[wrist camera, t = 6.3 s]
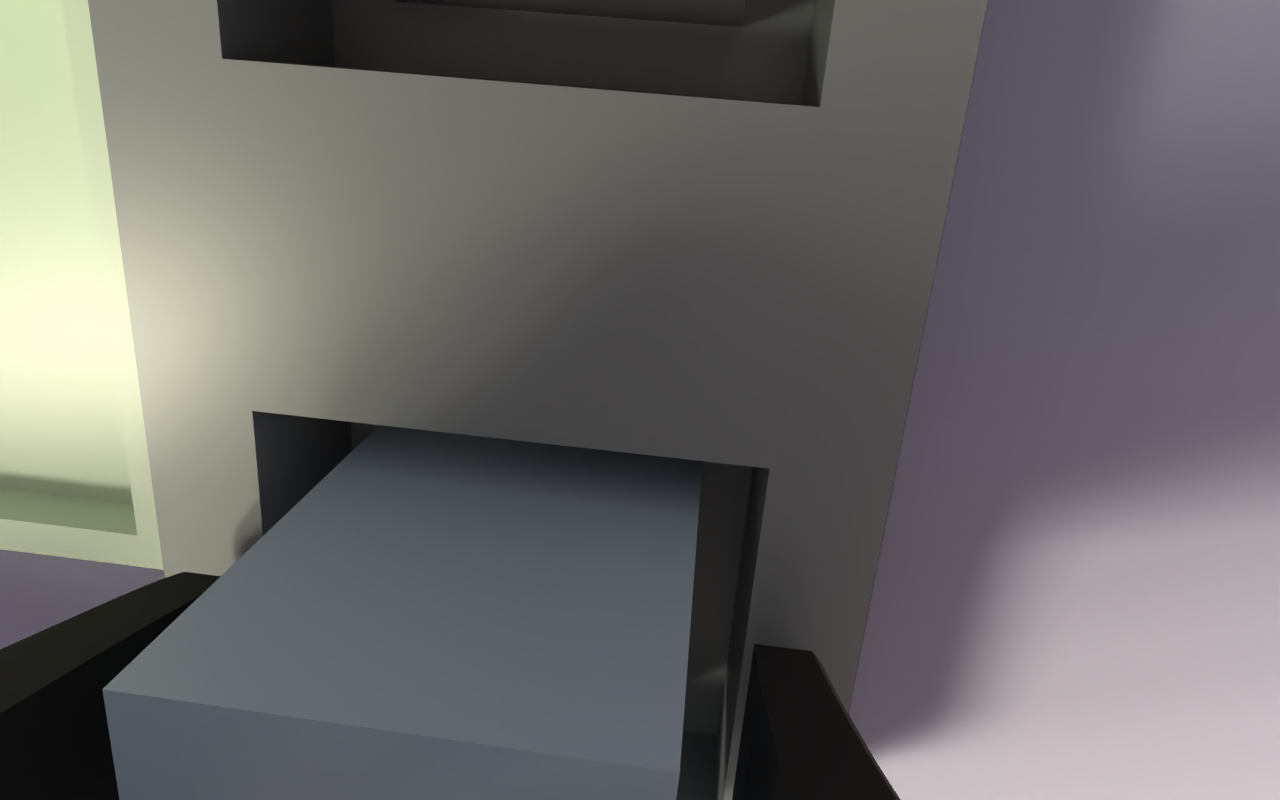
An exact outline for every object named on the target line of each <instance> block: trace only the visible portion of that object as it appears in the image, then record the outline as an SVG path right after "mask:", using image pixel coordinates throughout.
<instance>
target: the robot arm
mask: <svg viewBox="0 0 1280 800" xmlns="http://www.w3.org/2000/svg"><path fill="white" fill-rule="evenodd" d="M220 577H221V576H215V575H207V574H199V573H191V572H181V573H178V574H176V575H173V576H170V577H167V578H164V579H161V580H159V581H156V582H154V583H151V584H149V585H146V586H144V587H141V588H139V589H137V590H134V591H132V592H129V593H127V594H125V595H122V596H120V597H118V598H116V599H113V600H111V601H109V602H106V603H104V604H102V605H100V606H97V607H95V608H93V609H91V610H88V611H86V612H84V613H82V614H79V615H77V616H75V617H73V618H70V619H68V620H66V621H64V622H61V623H59V624H57V625H55V626H52V627H50V628H48V629H46V630H43V631H41V632H39V633H37V634H34V635H32V636H30V637H28V638H25V639H23V640H21V641H19V642H16V643H14V644H12V645H10V646H7V647H5V648H3V649H1V650H0V800H119V794H118V787H117V781H116V774H115V768H114V761H113V755H112V748H111V742H110V736H109V729H108V723H107V716H106V710H105V703H104V697H103V690H102V689H103V688H104V687H105V686H106V685H108V684H109V683H110V682H111V681H112V680H113V679H114V678H115V677H116V676H117V675H118V674H119V673H120V672H121V671H122V670H123V669H124V668H125V667H126V666H127V665H128V664H130V663H131V662H132V661H133V660H134V659H135V658H136V657H137V656H138V655H139V654H140V653H141V652H142V651H143V650H144V649H145V648H146V647H147V646H148V645H149V644H150V643H152V642H153V641H154V640H155V639H156V638H157V637H158V636H159V635H160V634H161V633H162V632H163V631H164V630H165V629H166V628H167V627H168V626H169V625H170V624H171V623H173V622H174V621H175V620H176V619H177V618H178V617H179V616H180V615H181V614H182V613H183V612H184V611H185V610H186V609H187V608H188V607H189V606H190V605H191V604H192V603H193V602H195V601H196V600H197V599H198V598H199V597H200V596H201V595H202V594H203V593H204V592H205V591H206V590H207V589H208V588H209V587H210V586H211V585H212V584H213V583H214V582H215V581H217V580H218V579H219V578H220ZM732 800H900V798H899V797H898V795H897V794H896V792H895V791H894V789H893V788H892V786H891V784H890V783H889V781H888V780H887V778H886V777H885V775H884V773H883V772H882V770H881V769H880V767H879V766H878V764H877V762H876V761H875V759H874V757H873V756H872V754H871V752H870V751H869V749H868V747H867V746H866V744H865V742H864V741H863V739H862V737H861V735H860V734H859V732H858V730H857V729H856V727H855V725H854V723H853V722H852V720H851V718H850V716H849V715H848V713H847V711H846V709H845V707H844V706H843V704H842V702H841V700H840V698H839V696H838V695H837V693H836V691H835V689H834V687H833V685H832V683H831V681H830V679H829V677H828V675H827V674H826V672H825V670H824V668H823V666H822V663H821V662H820V660H819V659H818V658H817V657H816V655H815V654H814V653H813V652H812V651H807V650H799V649H791V648H784V647H776V646H768V645H760V644H754V649H753V656H752V663H751V670H750V677H749V684H748V691H747V697H746V704H745V711H744V718H743V725H742V732H741V739H740V746H739V753H738V760H737V767H736V774H735V781H734V788H733V795H732Z"/></svg>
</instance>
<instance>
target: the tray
mask: <svg viewBox="0 0 1280 800" xmlns="http://www.w3.org/2000/svg"><path fill="white" fill-rule="evenodd" d="M0 549H2V550H10V551H18V552H26V553H34V554H42V555H50V556H58V557H66V558H73V559H81V560H89V561H97V562H105V563H113V564H121V565H129V566H137V567H145V568H152V569H160V570H164V569H163V561H162V554H161V546H160V539H159V531H158V524H157V516H156V509H155V501H154V494H153V486H152V479H151V471H150V464H149V456H148V449H147V441H146V433H145V426H144V418H143V411H142V403H141V396H140V388H139V381H138V373H137V366H136V358H135V351H134V343H133V336H132V328H131V321H130V313H129V306H128V298H127V291H126V283H125V275H124V268H123V260H122V253H121V245H120V238H119V230H118V223H117V215H116V208H115V200H114V193H113V185H112V178H111V170H110V163H109V155H108V148H107V140H106V132H105V125H104V117H103V110H102V102H101V95H100V87H99V80H98V72H97V65H96V57H95V50H94V42H93V35H92V27H91V20H90V12H89V5H88V0H0Z"/></svg>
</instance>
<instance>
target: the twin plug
mask: <svg viewBox="0 0 1280 800" xmlns="http://www.w3.org/2000/svg"><path fill="white" fill-rule="evenodd" d="M391 1H396V2H409V3H423V4H436V5H449V6H463V7H476V8H490V9H503V10H516V11H530V12H543V13H556V14H570V15H583V16H596V17H610V18H623V19H637V20H650V21H663V22H677V23H690V24H703V25H717V26H730V27H743V19H744V10H745V1H746V0H391Z"/></svg>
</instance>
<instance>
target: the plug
mask: <svg viewBox="0 0 1280 800" xmlns="http://www.w3.org/2000/svg"><path fill="white" fill-rule="evenodd" d="M701 474H702V461H696V460H687V459H679V458H670V457H661V456H652V455H643V454H634V453H625V452H616V451H607V450H598V449H589V448H580V447H571V446H562V445H553V444H544V443H535V442H526V441H517V440H508V439H499V438H490V437H482V436H473V435H464V434H455V433H446V432H437V431H428V430H419V429H410V428H401V427H392V426H383V425H379V426H378V427H377V428H376V429H375V430H374V431H373V432H372V433H371V434H370V435H369V436H367V437H366V438H365V439H364V440H363V441H362V442H361V443H360V444H359V445H358V446H357V447H356V448H355V449H354V450H353V451H352V452H351V453H350V454H349V455H348V456H347V457H345V458H344V459H343V460H342V461H341V462H340V463H339V464H338V465H337V466H336V467H335V468H334V469H333V470H332V471H331V472H330V473H329V474H328V475H327V476H326V477H325V478H323V479H322V480H321V481H320V482H319V483H318V484H317V485H316V486H315V487H314V488H313V489H312V490H311V491H310V492H309V493H308V494H307V495H306V496H305V497H304V498H302V499H301V500H300V501H299V502H298V503H297V504H296V505H295V506H294V507H293V508H292V509H291V510H290V511H289V512H288V513H287V514H286V515H285V516H284V517H283V518H282V519H280V520H279V521H278V522H277V523H276V524H275V525H274V526H273V527H272V528H271V529H270V530H269V531H268V532H267V533H266V534H265V535H264V536H263V537H262V538H261V539H260V540H258V541H257V542H256V543H255V544H254V545H253V546H252V547H251V548H250V549H249V550H248V551H247V552H246V553H245V554H244V555H243V556H242V557H241V558H240V559H239V560H237V561H236V562H235V563H234V564H233V565H232V566H231V567H230V568H229V569H228V570H227V571H226V572H225V573H224V574H223V575H222V576H221V577H220V578H219V579H218V580H217V581H215V582H214V583H213V584H212V585H211V586H210V587H209V588H208V589H207V590H206V591H205V592H204V593H203V594H202V595H201V596H200V597H199V598H198V599H197V600H196V601H195V602H193V603H192V604H191V605H190V606H189V607H188V608H187V609H186V610H185V611H184V612H183V613H182V614H181V615H180V616H179V617H178V618H177V619H176V620H175V621H174V622H173V623H171V624H170V625H169V626H168V627H167V628H166V629H165V630H164V631H163V632H162V633H161V634H160V635H159V636H158V637H157V638H156V639H155V640H154V641H153V642H152V643H150V644H149V645H148V646H147V647H146V648H145V649H144V650H143V651H142V652H141V653H140V654H139V655H138V656H137V657H136V658H135V659H134V660H133V661H132V662H131V663H130V664H128V665H127V666H126V667H125V668H124V669H123V670H122V671H121V672H120V673H119V674H118V675H117V676H116V677H115V678H114V679H113V680H112V681H111V682H110V683H109V684H108V685H106V686H105V687H104V688H103V689H102V690H103V697H104V703H105V710H106V716H107V723H108V729H109V736H110V742H111V748H112V755H113V761H114V768H115V774H116V781H117V787H118V794H119V800H676V797H677V789H678V782H679V774H680V762H681V748H682V734H683V721H684V707H685V693H686V679H687V666H688V652H689V638H690V625H691V611H692V597H693V583H694V570H695V556H696V542H697V529H698V515H699V501H700V487H701Z"/></svg>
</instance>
